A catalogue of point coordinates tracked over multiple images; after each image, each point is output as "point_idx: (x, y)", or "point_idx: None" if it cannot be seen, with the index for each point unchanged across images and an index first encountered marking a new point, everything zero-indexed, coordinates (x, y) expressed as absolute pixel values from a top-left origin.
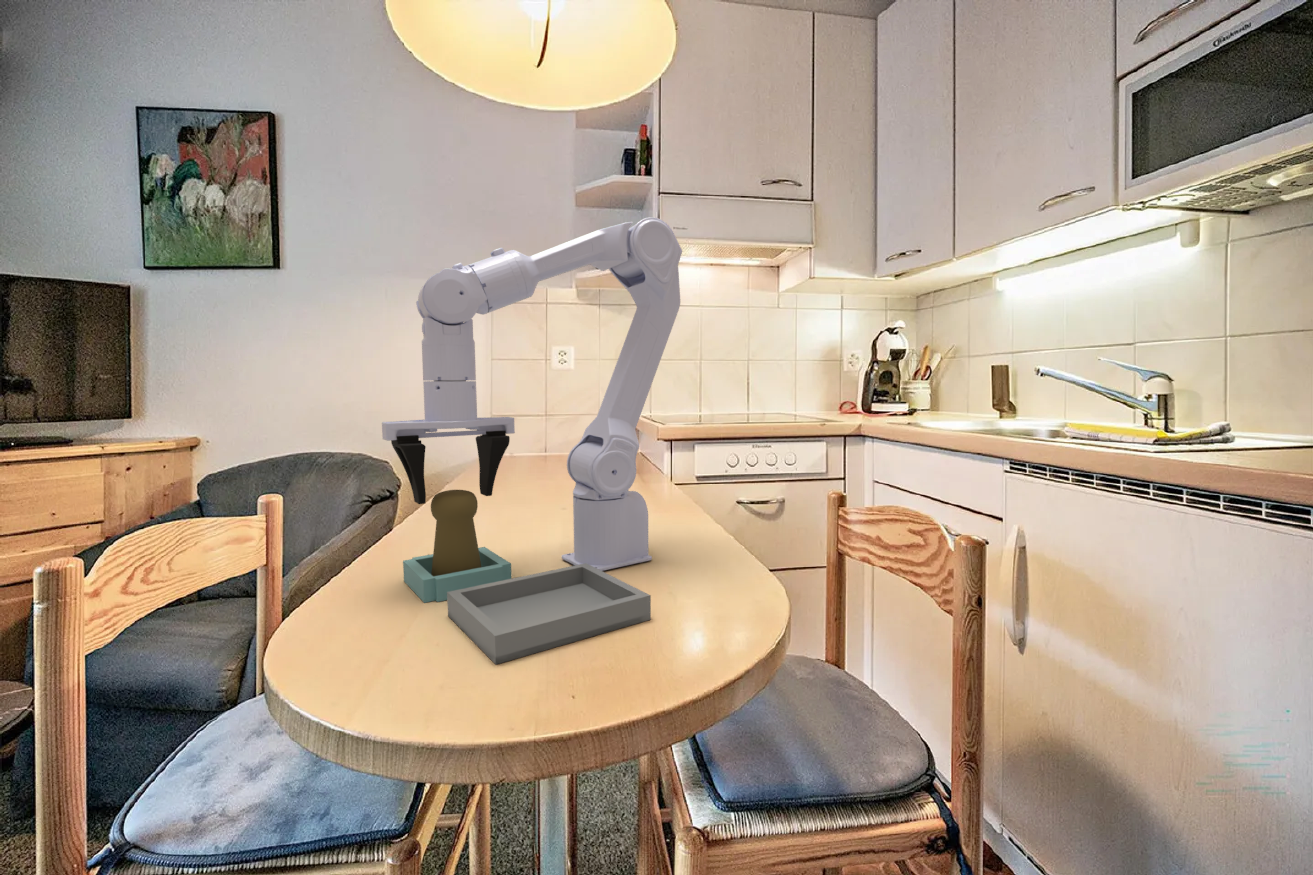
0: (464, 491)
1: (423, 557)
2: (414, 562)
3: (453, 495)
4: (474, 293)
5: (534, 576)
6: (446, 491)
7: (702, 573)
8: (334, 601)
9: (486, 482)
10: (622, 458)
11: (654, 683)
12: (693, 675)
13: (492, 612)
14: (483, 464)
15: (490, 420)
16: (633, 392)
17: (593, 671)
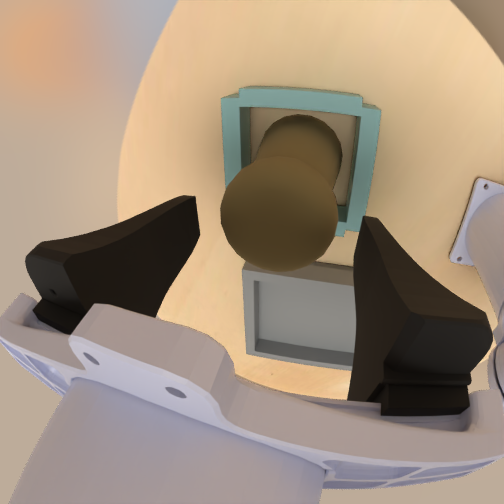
0: (295, 252)
1: (256, 100)
2: (235, 121)
3: (258, 263)
4: None
5: (348, 292)
6: (251, 230)
7: (496, 322)
8: (147, 127)
9: (356, 280)
10: None
11: (311, 387)
12: (332, 392)
13: (283, 289)
14: (369, 296)
15: (348, 484)
16: None
17: (296, 369)
